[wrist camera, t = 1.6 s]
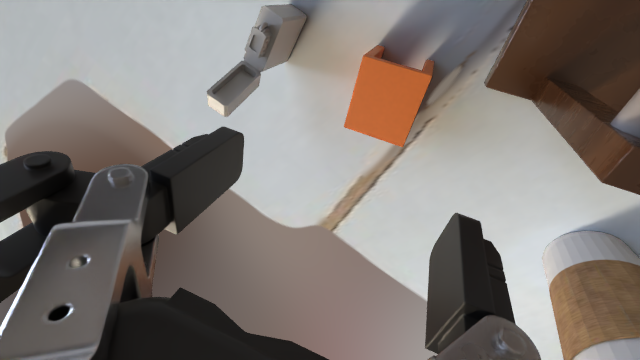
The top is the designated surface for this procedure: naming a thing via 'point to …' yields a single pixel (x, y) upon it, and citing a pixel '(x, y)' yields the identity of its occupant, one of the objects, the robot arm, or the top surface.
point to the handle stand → (581, 78)
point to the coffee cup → (594, 296)
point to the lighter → (258, 56)
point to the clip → (387, 97)
